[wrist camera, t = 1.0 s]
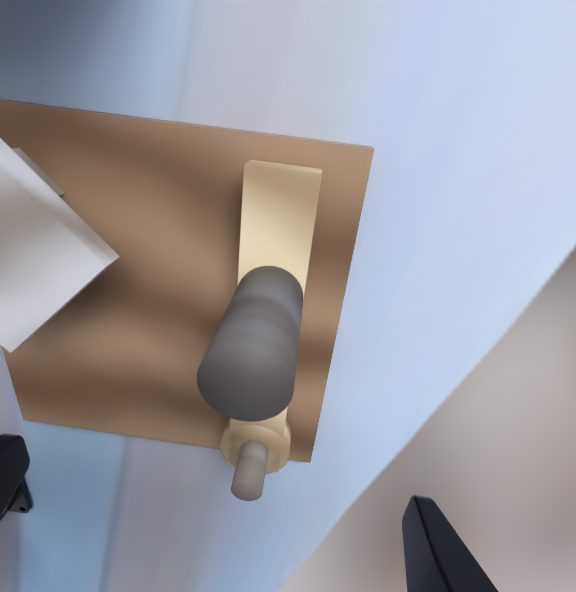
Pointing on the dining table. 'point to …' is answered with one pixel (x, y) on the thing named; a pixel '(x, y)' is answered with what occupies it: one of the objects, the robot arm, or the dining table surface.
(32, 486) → the dining table surface
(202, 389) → the lever
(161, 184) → the keeper board
